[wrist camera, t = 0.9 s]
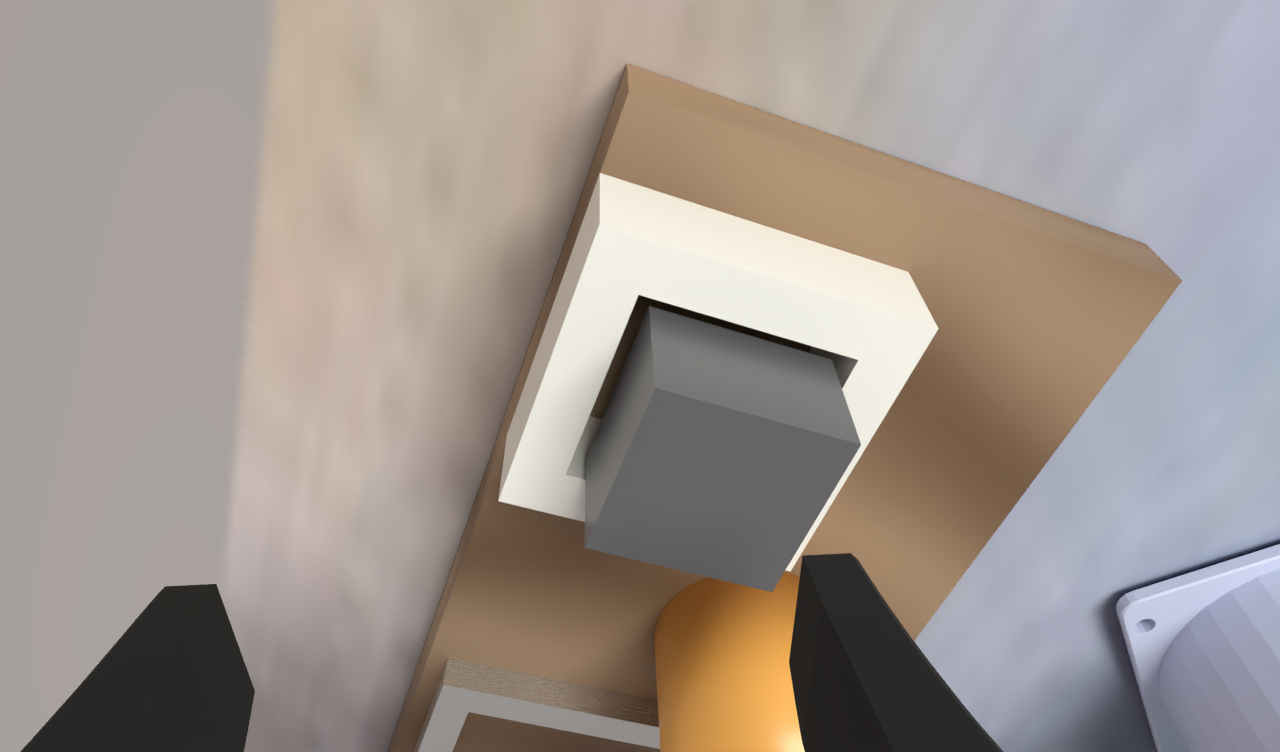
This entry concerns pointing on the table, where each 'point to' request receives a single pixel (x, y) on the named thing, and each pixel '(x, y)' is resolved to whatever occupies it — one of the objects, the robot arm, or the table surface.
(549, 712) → the grey square frame
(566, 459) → the frame
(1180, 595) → the robot arm
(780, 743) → the cap
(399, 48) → the table surface
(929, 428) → the tan flat plate
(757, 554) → the button
